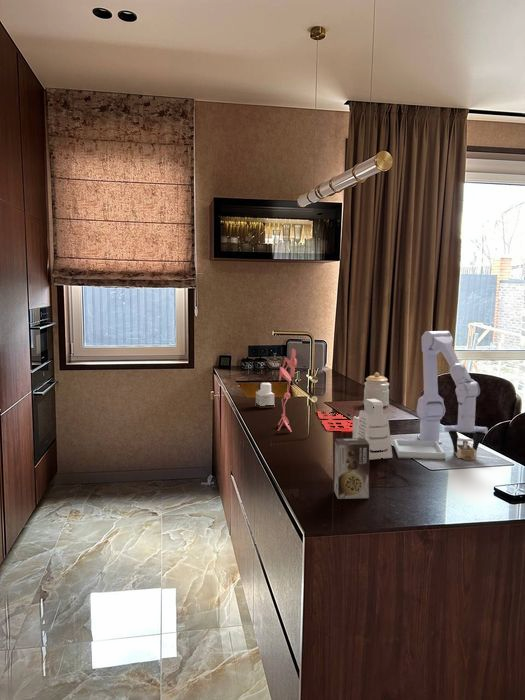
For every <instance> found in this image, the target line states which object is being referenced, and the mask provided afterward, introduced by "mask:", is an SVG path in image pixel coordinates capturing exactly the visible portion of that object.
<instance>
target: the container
mask: <svg viewBox="0 0 525 700" xmlns="http://www.w3.org/2000/svg"><path fill="white" fill-rule="evenodd" d="M256 403H257V404H258V405H260V406H265V405H274V406H275V393H273V392H272V383H271V382H269V381H261V382H259V383H258V391H255V404H256Z"/></svg>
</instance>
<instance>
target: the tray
mask: <svg viewBox="0 0 525 700" xmlns="http://www.w3.org/2000/svg"><path fill="white" fill-rule="evenodd" d="M393 448H394V449H395V452H396V454H397V457H398V459H411V458H422V459H421V460H433V459H445V460H446V452H445V451H444V449H443V447H442V446H441V445H440V443H438V442H437V441H423V440H419V439H418V440H417V439H393Z"/></svg>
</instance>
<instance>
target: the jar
mask: <svg viewBox="0 0 525 700" xmlns="http://www.w3.org/2000/svg"><path fill="white" fill-rule="evenodd" d="M365 380H366V381H365V382H364V383H363V385H364V388H363V390H364V391H363V405H364V404H365V400H366V399H377V400H379V401H382V403H383V406H386V405H388V404H390V400H389V399H390V397H389V395H390V389H389V386H390V383H389V382H388V380H389V379H388V378H387V377H385V376H384V375H380V373H379V372H377V371H376V372H374V375H369V376H367V377H366V378H365ZM388 406H389V405H388Z"/></svg>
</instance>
